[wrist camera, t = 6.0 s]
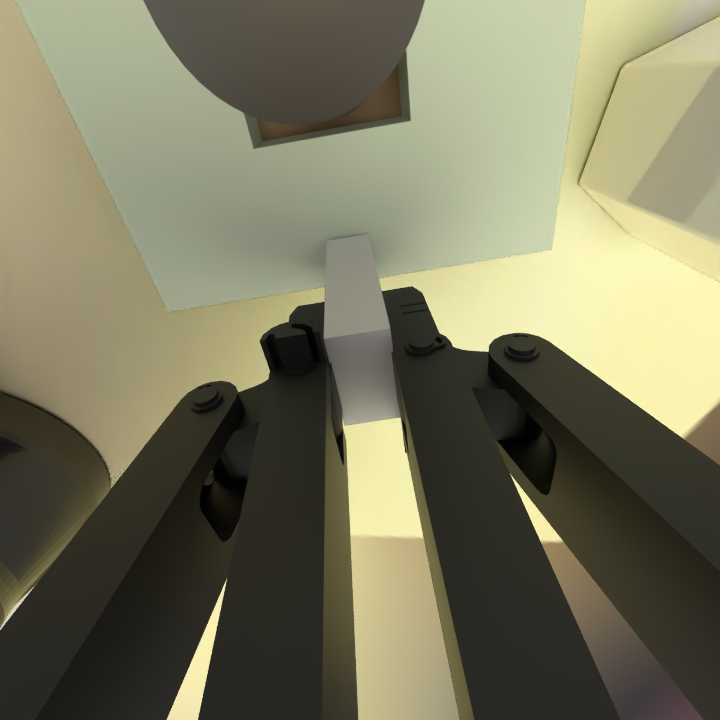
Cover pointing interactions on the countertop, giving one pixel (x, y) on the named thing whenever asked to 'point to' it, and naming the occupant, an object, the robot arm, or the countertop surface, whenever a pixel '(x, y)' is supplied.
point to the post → (294, 57)
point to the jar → (665, 150)
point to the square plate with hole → (323, 149)
